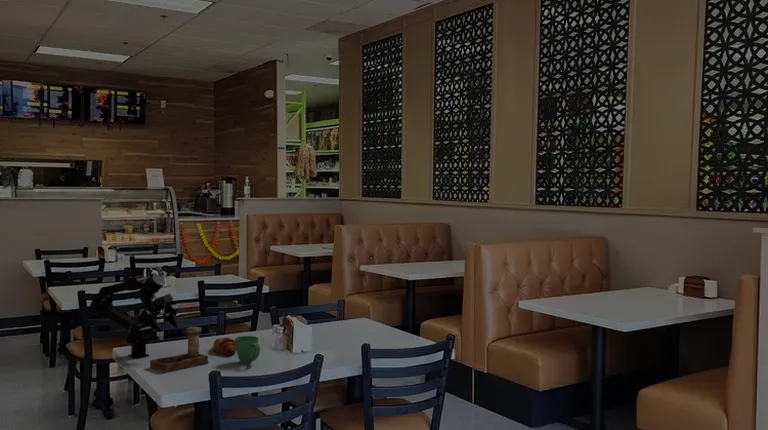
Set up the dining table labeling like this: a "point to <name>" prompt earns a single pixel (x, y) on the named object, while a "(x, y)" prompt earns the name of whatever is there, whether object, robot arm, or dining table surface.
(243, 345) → the mug
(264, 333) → the dining table surface
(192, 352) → the peg
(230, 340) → the croissant
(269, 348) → the dining table surface
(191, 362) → the tray
